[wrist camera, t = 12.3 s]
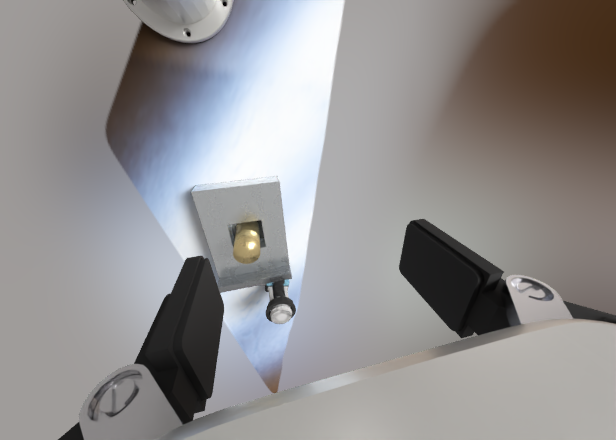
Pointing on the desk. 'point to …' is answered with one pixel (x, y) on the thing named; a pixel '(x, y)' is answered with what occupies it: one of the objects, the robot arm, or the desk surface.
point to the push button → (279, 302)
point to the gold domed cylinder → (247, 242)
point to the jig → (238, 209)
